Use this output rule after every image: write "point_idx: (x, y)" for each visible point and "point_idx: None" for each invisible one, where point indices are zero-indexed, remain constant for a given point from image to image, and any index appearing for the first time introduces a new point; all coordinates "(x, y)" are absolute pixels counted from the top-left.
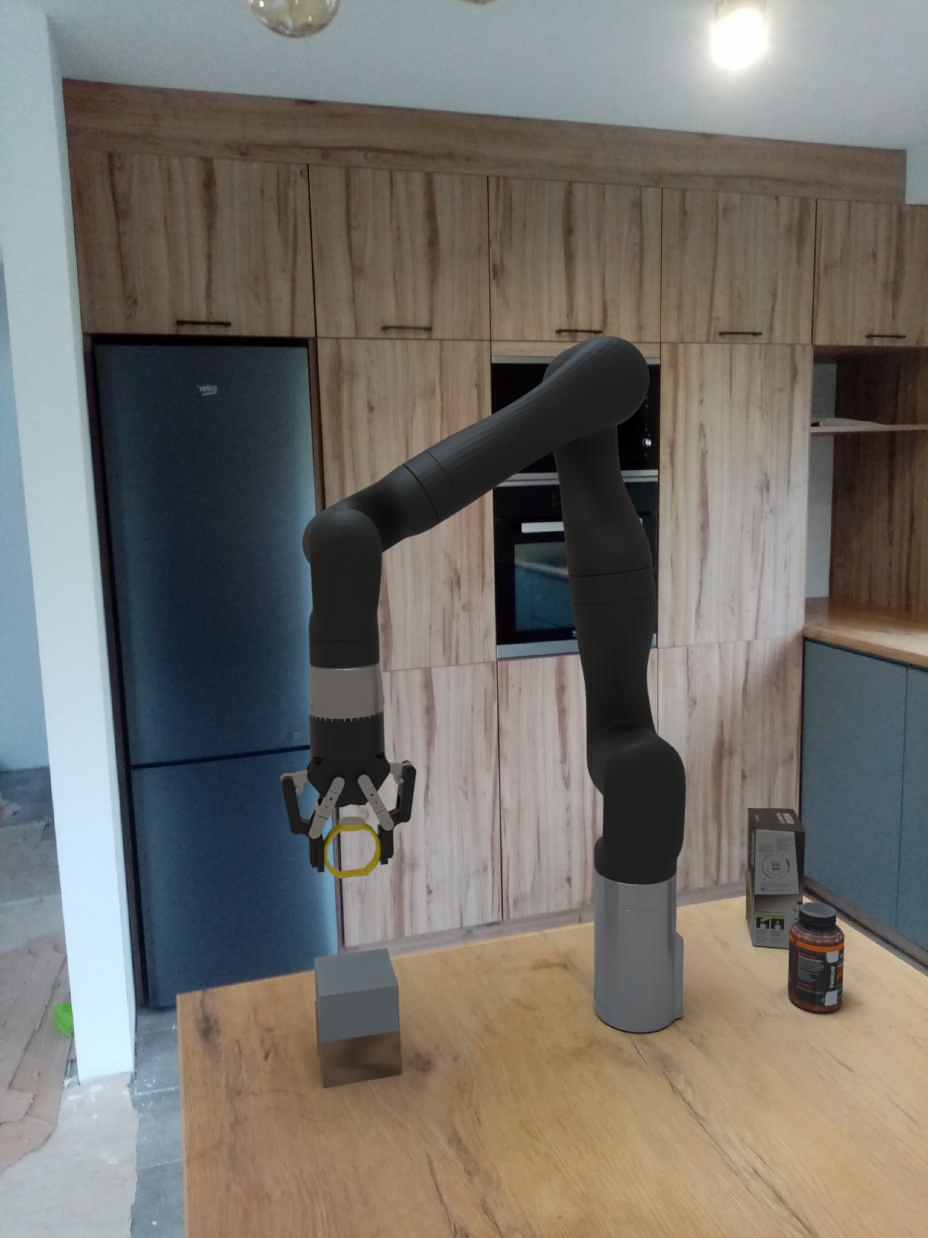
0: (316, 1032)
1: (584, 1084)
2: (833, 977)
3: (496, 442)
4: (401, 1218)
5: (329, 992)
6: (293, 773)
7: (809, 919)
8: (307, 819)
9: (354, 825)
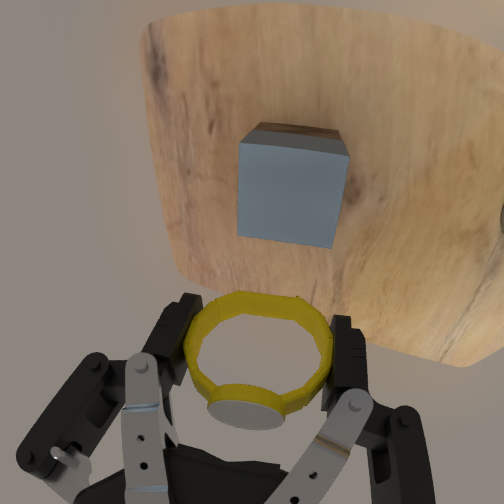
0: (258, 124)
1: (443, 266)
2: None
3: None
4: None
5: (249, 231)
6: (50, 486)
7: None
8: (123, 387)
9: (248, 428)
